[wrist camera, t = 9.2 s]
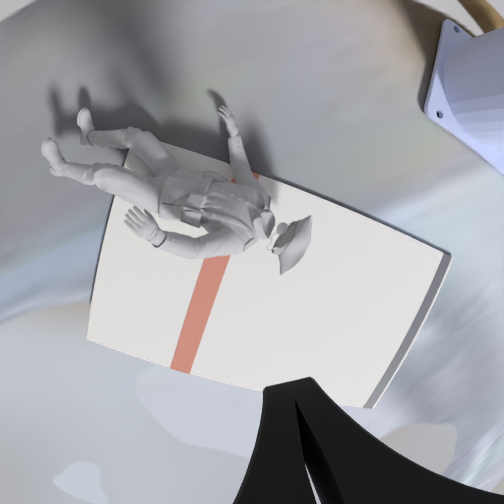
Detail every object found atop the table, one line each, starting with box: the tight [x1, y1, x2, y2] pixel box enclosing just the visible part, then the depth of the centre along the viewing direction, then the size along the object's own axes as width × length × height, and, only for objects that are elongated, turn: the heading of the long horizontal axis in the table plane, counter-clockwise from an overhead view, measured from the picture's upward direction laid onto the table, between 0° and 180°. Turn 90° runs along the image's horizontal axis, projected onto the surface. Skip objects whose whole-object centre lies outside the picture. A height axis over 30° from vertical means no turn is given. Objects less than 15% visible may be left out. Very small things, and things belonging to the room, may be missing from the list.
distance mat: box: [86, 142, 453, 409], centre depth 17 cm, size 20×12×1 cm, turn 70°
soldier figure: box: [42, 106, 312, 275], centre depth 13 cm, size 8×5×12 cm
